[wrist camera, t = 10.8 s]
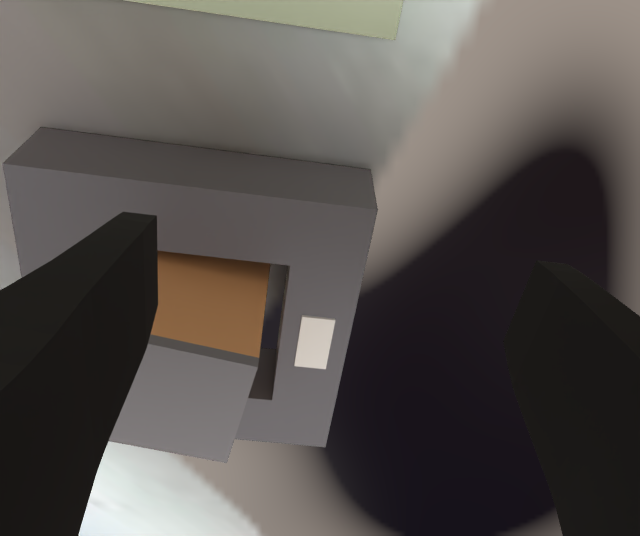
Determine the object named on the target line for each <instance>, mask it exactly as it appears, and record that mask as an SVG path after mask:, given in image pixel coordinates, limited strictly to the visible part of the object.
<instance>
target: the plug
mask: <svg viewBox="0 0 640 536" xmlns="http://www.w3.org/2000/svg"><path fill="white" fill-rule="evenodd" d="M157 254H158V307H157V311H156V315H155V319H154V323H153V327H152V331H151V334H150V338H149V341H148V345H147V349H146V351H145V354H144V356H143V359H142V361H141V364H140V366H139V369H138V371H137V374H136V376H135V378H134V381H133V383H132V386H131V388H130V391H129V393H128V395H127V398H126V400H125V402H124V405H123V407H122V410H121V412H120V414H119V417H118V419H117V422H116V424H115V426H114V429H113V431H112V434H111V436H110V438H109V441H111V442H116V443H122V444H127V445H132V446H138V447H143V448H148V449H154V450H159V451H165V452H170V453H175V454H181V455H186V456H192V457H197V458H203V459H208V460H213V461H219V462H224V463H227V461H228V458H229V454H230V451H231V448H232V445H233V442H234V439H235V436H236V433H237V430H238V427H239V424H240V421H241V418H242V415H243V411H244V408H245V405H246V402H247V399H248V396H249V393H250V390H251V387H252V384H253V381H254V378H255V375H256V371H257V368H258V362H259V354H260V345H261V337H262V329H263V321H264V312H265V304H266V296H267V288H268V279H269V271H270V263H261V262H253V261H244V260H235V259H226V258H218V257H209V256H200V255H191V254H182V253H174V252H165V251H157Z"/></svg>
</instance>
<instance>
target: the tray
mask: <svg viewBox="0 0 640 536" xmlns="http://www.w3.org/2000/svg"><path fill="white" fill-rule="evenodd" d="M125 1H132V2H139V3H145V4H152V5H159V6H166V7H173V8H180V9H186V10H193V11H200V12H207V13H214V14H220V15H227V16H234V17H241V18H248V19H254V20H261V21H268V22H275V23H282V24H288V25H295V26H302V27H309V28H316V29H323V30H329V31H336V32H343V33H350V34H357V35H363V36H370V37H377V38H384V39H391V40H395V38H396V34H397V29H398V24H399V19H400V14H401V9H402V4H403V0H125Z"/></svg>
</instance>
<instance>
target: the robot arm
mask: <svg viewBox="0 0 640 536" xmlns="http://www.w3.org/2000/svg"><path fill="white" fill-rule="evenodd" d="M157 307H158V254H157V216H156V215H148V214H140V213H131V212H122V213H120V214H118V215H117V216H115V217H114V218H112V219H111V220H110V221H108V222H107V223H105V224H104V225H102V226H101V227H100V228H98V229H97V230H95V231H94V232H92V233H91V234H90V235H88V236H87V237H85V238H84V239H82V240H81V241H79V242H78V243H76V244H75V245H73V246H72V247H70V248H69V249H67V250H66V251H64V252H63V253H61V254H60V255H59V256H57V257H56V258H54V259H52V260H51V261H49V262H48V263H46V264H44V265H43V266H41V267H39V268H38V269H36V270H34V271H32V272H31V273H29V274H27V275H26V276H24V277H22V278H21V279H19V280H17V281H16V282H14V283H12V284H11V285H9V286H7V287H6V288H4V289H2V290H0V536H78V534H79V530H80V527H81V523H82V520H83V517H84V513H85V510H86V506H87V503H88V500H89V496H90V493H91V490H92V486H93V483H94V479H95V476H96V473H97V470H98V467H99V464H100V462H101V459H102V456H103V453H104V451H105V448H106V446H107V443H108V441H109V438H110V436H111V434H112V431H113V429H114V426H115V424H116V422H117V419H118V417H119V414H120V412H121V410H122V407H123V405H124V402H125V400H126V398H127V395H128V393H129V391H130V388H131V386H132V383H133V381H134V378H135V376H136V374H137V371H138V369H139V366H140V364H141V361H142V359H143V356H144V354H145V351H146V349H147V345H148V341H149V338H150V334H151V331H152V327H153V323H154V319H155V315H156V311H157ZM503 342H504V347H505V353H506V358H507V363H508V369H509V373H510V378H511V382H512V386H513V389H514V392H515V395H516V398H517V401H518V403H519V406H520V409H521V412H522V415H523V418H524V420H525V423H526V426H527V429H528V431H529V434H530V437H531V439H532V442H533V445H534V447H535V450H536V453H537V455H538V458H539V461H540V464H541V466H542V469H543V472H544V474H545V477H546V480H547V483H548V485H549V488H550V491H551V494H552V498H553V501H554V504H555V507H556V510H557V514H558V518H559V522H560V526H561V530H562V534H563V536H640V316H639V315H637V314H636V313H635V312H633V311H632V310H631V309H629V308H628V307H627V306H625V305H624V304H623V303H621V302H620V301H619V300H617V299H616V298H615V297H613V296H612V295H611V294H609V293H608V292H607V291H606V290H604V289H603V288H601V287H600V286H599V285H598V284H596V283H595V282H593V281H592V280H590V279H589V278H588V277H586V276H585V275H584V274H582V273H581V272H579V271H578V270H576V269H574V268H572V267H571V266H569V265H567V264H561V263H553V262H544V261H536V263H535V266H534V268H533V270H532V273H531V275H530V278H529V280H528V282H527V285H526V288H525V290H524V292H523V295H522V297H521V299H520V302H519V304H518V307H517V309H516V312H515V314H514V316H513V319H512V321H511V324H510V326H509V329H508V331H507V334H506V336H505V338H504V341H503Z"/></svg>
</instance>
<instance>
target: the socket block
mask: <svg viewBox="0 0 640 536" xmlns="http://www.w3.org/2000/svg"><path fill="white" fill-rule="evenodd" d="M3 169H4V175H5V181H6V187H7V193H8V199H9V205H10V211H11V217H12V223H13V228H14V234H15V240H16V246H17V252H18V258H19V264H20V270H21V276H22V277H24V276H26V275H27V274H29V273H31V272H32V271H34V270H36V269H38V268H39V267H41V266H43V265H44V264H46V263H48V262H49V261H51V260H52V259H54V258H56V257H57V256H59V255H60V254H61V253H63V252H64V251H66V250H67V249H69V248H70V247H72V246H73V245H75V244H76V243H78V242H79V241H81V240H82V239H84V238H85V237H87V236H88V235H90V234H91V233H92V232H94V231H95V230H97V229H98V228H100V227H101V226H102V225H104V224H105V223H107V222H108V221H110V220H111V219H112V218H114V217H115V216H117V215H118V214H120V213H122V212H131V213H140V214H148V215H156V216H157V251H165V252H174V253H182V254H191V255H200V256H209V257H218V258H226V259H235V260H244V261H253V262H261V263H270V264H279V265H287V273H286V280H285V288H284V295H283V303H282V311H281V319H280V326H279V333H278V341H277V348H276V349H267V348H260V354H259V362H258V368H257V371H256V375H255V378H254V381H253V384H252V387H251V390H250V393H249V396H248V399H247V402H246V405H245V408H244V411H243V415H242V418H241V421H240V424H239V427H238V430H237V433H236V436H235V439H240V440H252V441H262V442H274V443H285V444H296V445H307V446H318V447H326V442H327V437H328V433H329V428H330V424H331V419H332V415H333V410H334V406H335V401H336V397H337V392H338V387H339V383H340V379H341V374H342V369H343V365H344V360H345V356H346V351H347V347H348V342H349V337H350V333H351V329H352V324H353V320H354V315H355V310H356V306H357V301H358V297H359V292H360V288H361V283H362V279H363V274H364V270H365V265H366V261H367V256H368V252H369V247H370V242H371V238H372V233H373V229H374V224H375V219H376V215H377V210H378V209H377V203H376V197H375V192H374V186H373V180H372V174H371V170H370V169H362V168H355V167H347V166H339V165H331V164H324V163H316V162H308V161H300V160H292V159H285V158H277V157H269V156H261V155H253V154H246V153H238V152H230V151H222V150H215V149H207V148H199V147H191V146H183V145H176V144H168V143H160V142H152V141H144V140H137V139H129V138H121V137H113V136H106V135H98V134H90V133H82V132H74V131H67V130H59V129H51V128H43V127H40V128H39V129H38V130H37V131H36V132H35V133H34V134H33V135H32V136H31V137H30V138H29V139H28V140H27V141H26V142H25V143H24V144H23V145H22V146H20V147H19V148H18V149H17V150H16V151H15V152H14V153H13V154H12V155H11V156H10V157H9V158H8V159H7V160H6V161H5V162H4V163H3Z"/></svg>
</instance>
